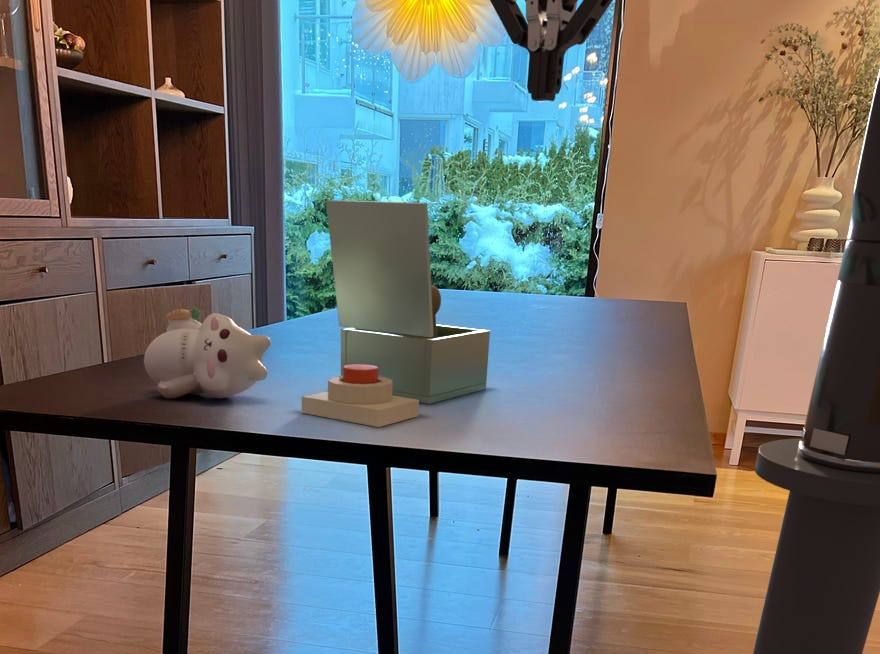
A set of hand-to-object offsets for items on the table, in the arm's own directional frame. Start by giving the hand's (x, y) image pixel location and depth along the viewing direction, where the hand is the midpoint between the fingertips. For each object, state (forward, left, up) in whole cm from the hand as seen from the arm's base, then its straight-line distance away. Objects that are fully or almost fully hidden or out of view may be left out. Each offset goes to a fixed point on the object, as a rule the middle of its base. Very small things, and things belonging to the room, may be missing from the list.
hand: (543, 100), depth 84 cm
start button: (+12, +12, -26) cm, 31 cm away
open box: (+16, -4, -29) cm, 33 cm away
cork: (+16, -4, -28) cm, 33 cm away
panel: (+12, +12, -29) cm, 34 cm away
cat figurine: (+30, +16, -29) cm, 45 cm away
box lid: (+16, +3, -15) cm, 22 cm away
